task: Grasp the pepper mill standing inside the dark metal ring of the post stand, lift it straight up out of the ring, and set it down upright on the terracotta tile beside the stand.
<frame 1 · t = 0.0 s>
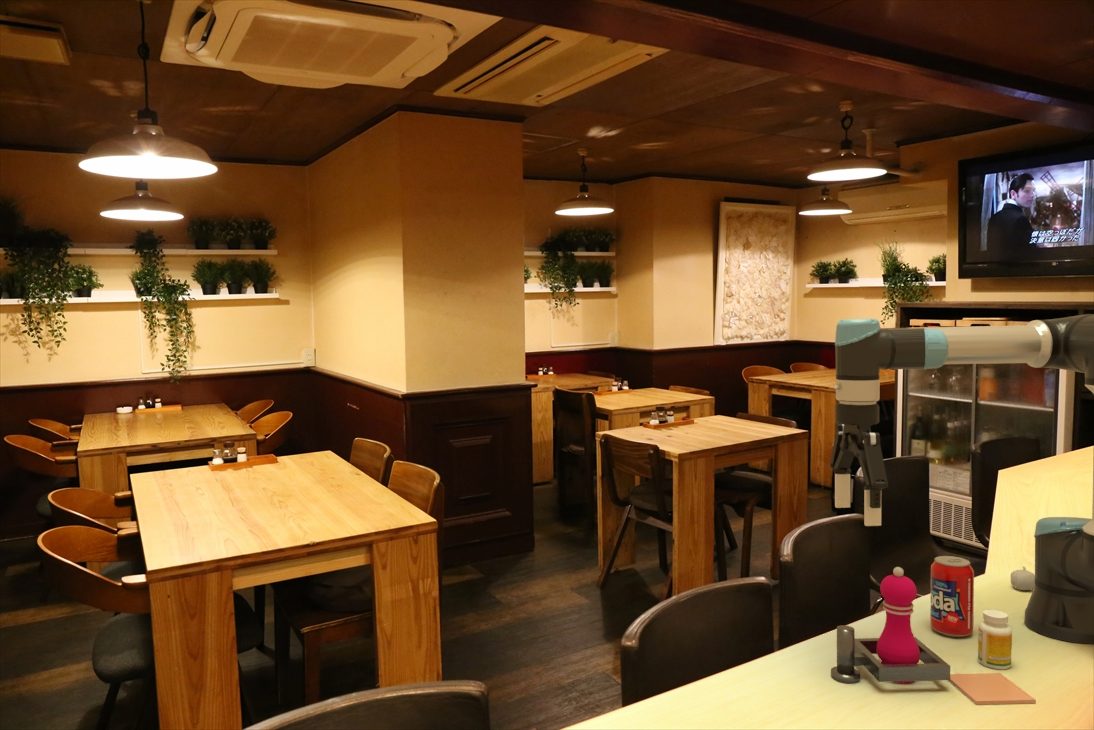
hand: (856, 516, 144), 28 cm above the table, tool pointing down, fingers open, 13 cm apart
supplement bottle: (994, 665, 144), on the table
soda can: (951, 633, 159), on the table
ring stand: (897, 676, 140), on the table
garlic: (1023, 590, 184), on the table
terracotta tile: (988, 689, 134), on the table
pepper mill: (897, 677, 140), on the table
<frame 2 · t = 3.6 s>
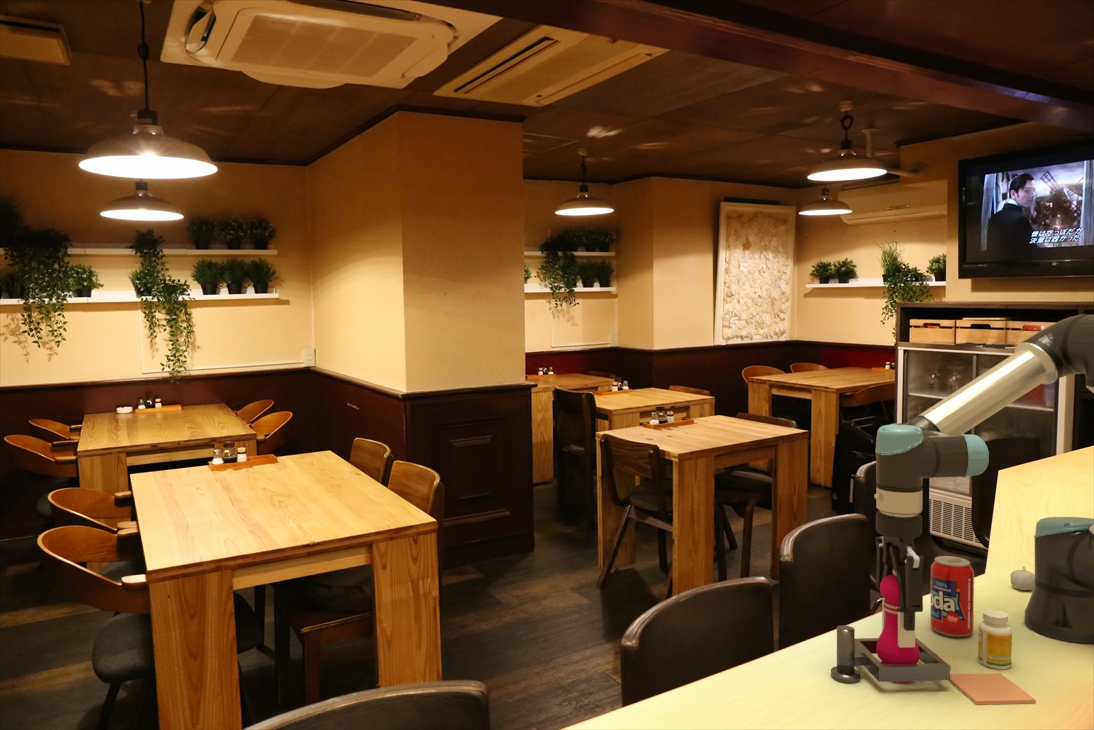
hand: (898, 639, 140), 7 cm above the table, tool pointing down, fingers closed on pepper mill, 5 cm apart
pepper mill: (897, 677, 140), on the table, touching gripper
everything else where it was.
when the fingers open (9 cm above the table, at t = 9.5 s): pepper mill drops 1 cm, resting on terracotta tile.
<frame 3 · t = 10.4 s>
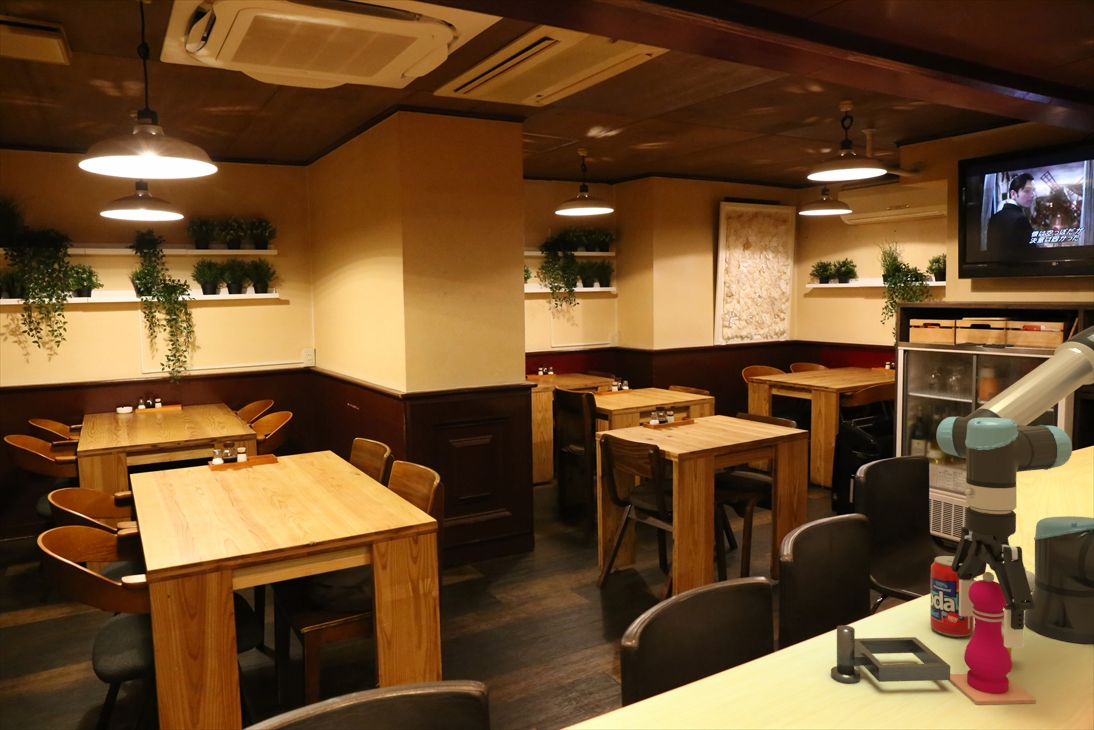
hand: (989, 630, 134), 11 cm above the table, tool pointing down, fingers open, 13 cm apart
pepper mill: (987, 686, 135), resting on terracotta tile
everything else where it was.
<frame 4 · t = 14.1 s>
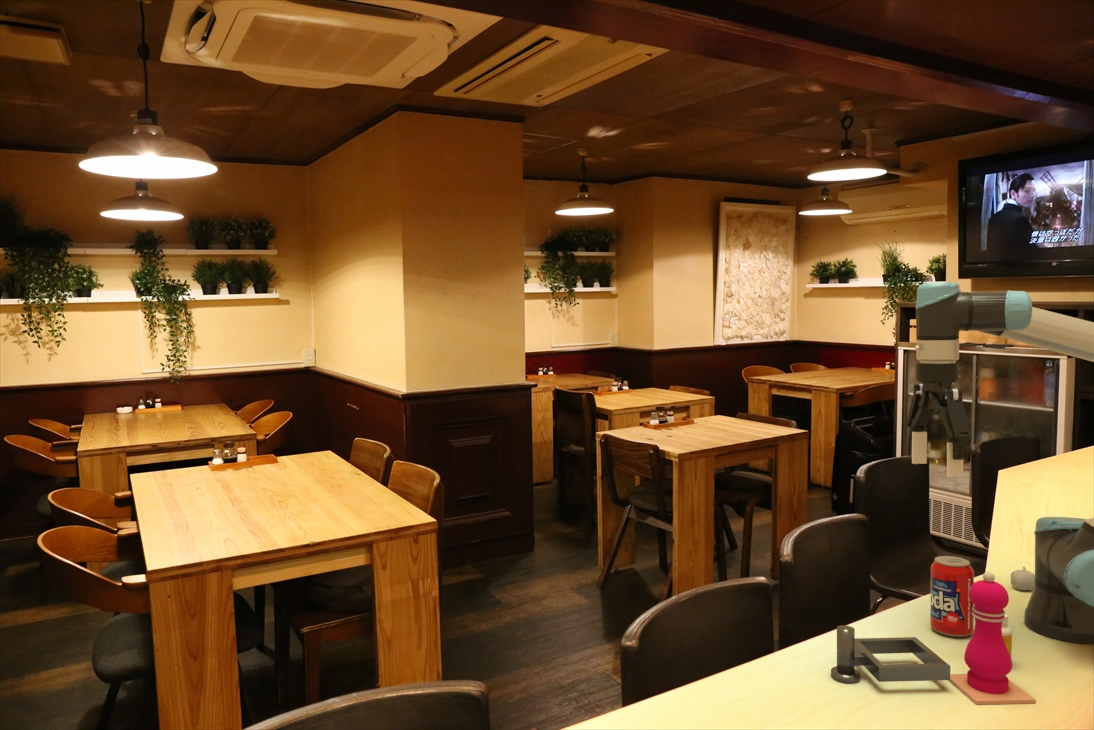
hand: (936, 469, 153), 35 cm above the table, tool pointing down, fingers open, 13 cm apart
nothing on the table moved.
at the end: pepper mill 0.3 cm off-centre on the terracotta tile, point 0.4 cm above the terracotta tile's base; pepper mill tilted 0°; pepper mill touching terracotta tile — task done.
